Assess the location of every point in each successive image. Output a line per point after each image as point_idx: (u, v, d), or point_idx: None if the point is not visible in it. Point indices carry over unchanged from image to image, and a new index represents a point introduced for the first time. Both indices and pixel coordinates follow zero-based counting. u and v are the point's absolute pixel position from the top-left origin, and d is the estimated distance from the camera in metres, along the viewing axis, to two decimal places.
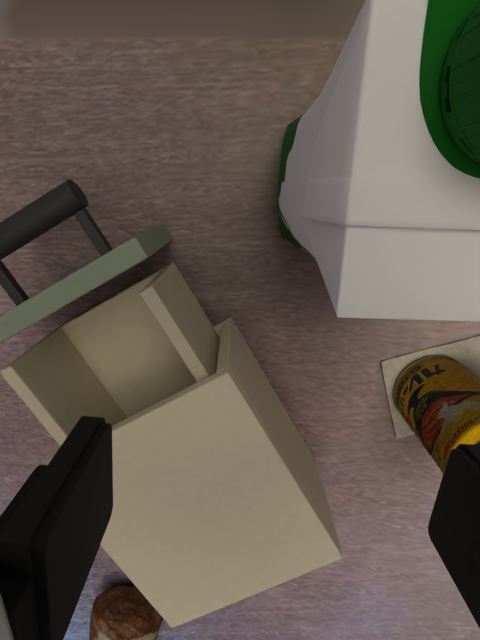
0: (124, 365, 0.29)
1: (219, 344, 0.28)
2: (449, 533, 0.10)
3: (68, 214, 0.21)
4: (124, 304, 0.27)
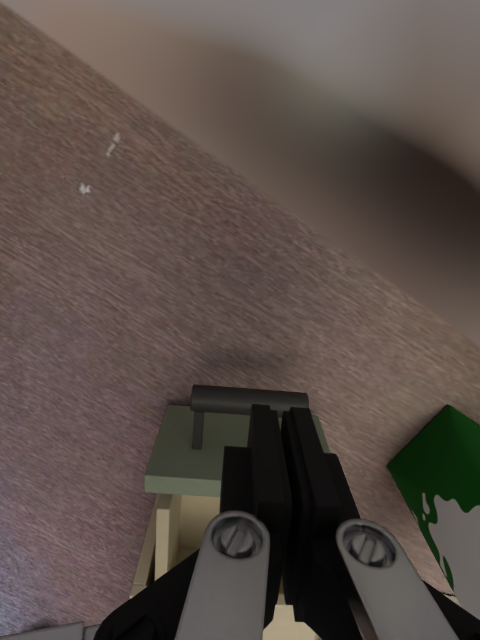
0: None
1: None
2: None
3: None
4: None
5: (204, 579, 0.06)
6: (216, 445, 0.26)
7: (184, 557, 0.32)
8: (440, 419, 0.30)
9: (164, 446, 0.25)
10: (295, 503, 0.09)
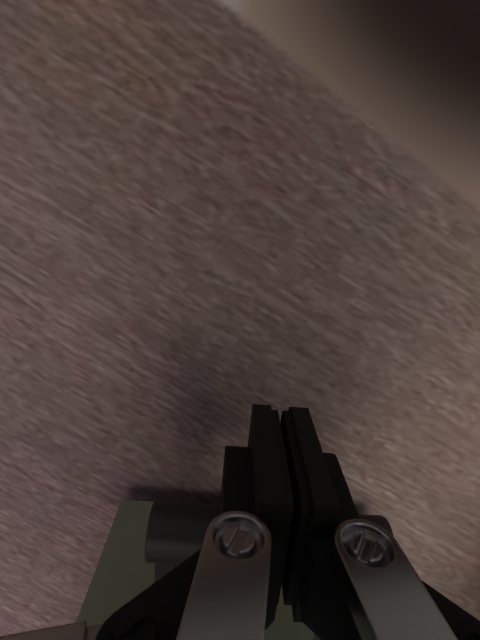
0: None
1: None
2: None
3: None
4: None
5: (206, 579, 0.06)
6: None
7: None
8: None
9: (99, 618, 0.12)
10: (294, 503, 0.09)
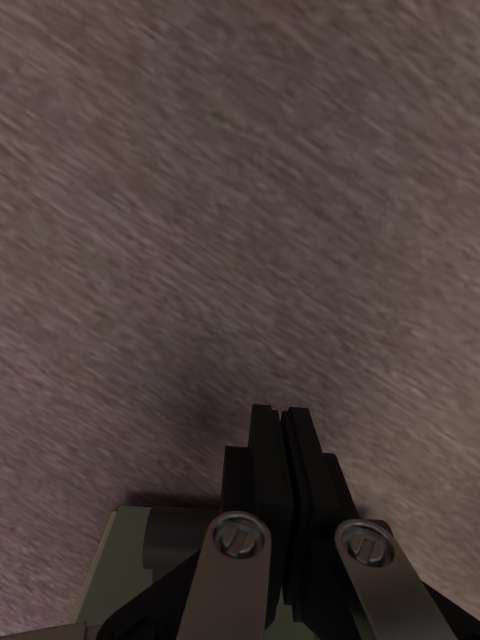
0: None
1: None
2: None
3: None
4: None
5: (206, 579, 0.06)
6: None
7: None
8: None
9: None
10: (294, 503, 0.09)
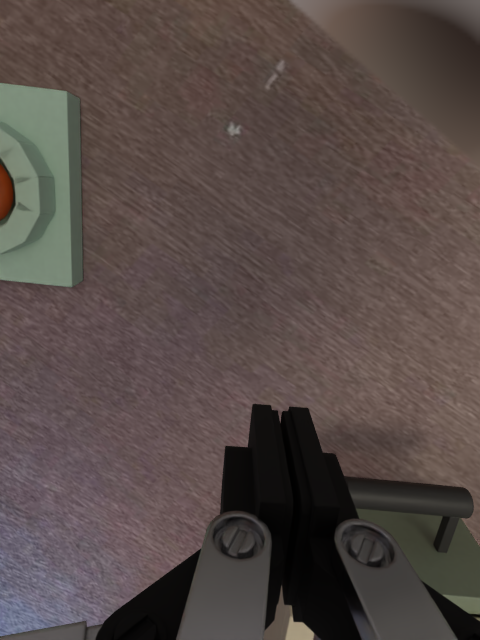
0: None
1: None
2: None
3: None
4: None
5: (206, 579, 0.06)
6: None
7: None
8: None
9: None
10: (294, 503, 0.09)
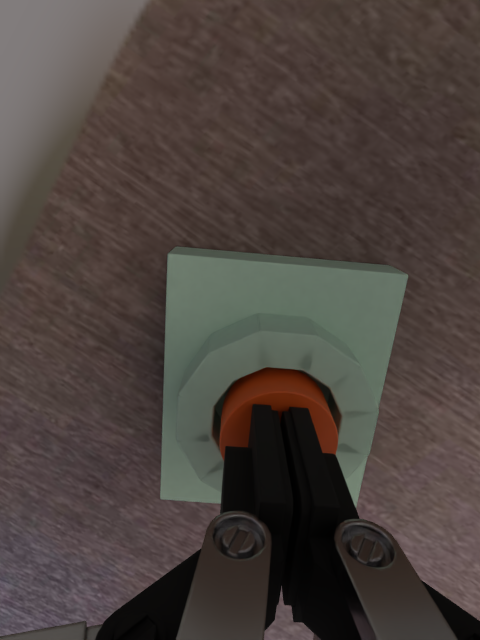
0: None
1: None
2: None
3: None
4: None
5: (205, 579, 0.06)
6: None
7: None
8: None
9: None
10: (294, 503, 0.09)
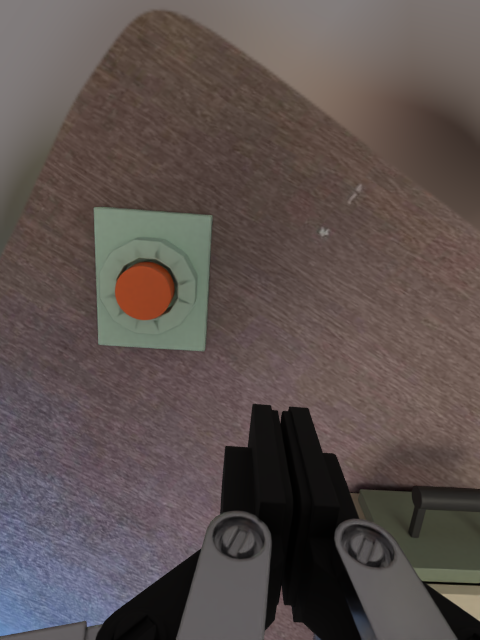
0: None
1: None
2: None
3: None
4: None
5: (206, 579, 0.06)
6: (427, 532, 0.31)
7: None
8: None
9: None
10: (294, 503, 0.09)
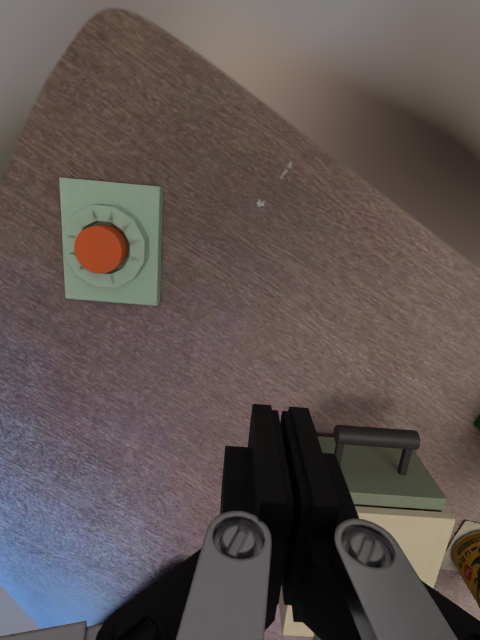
0: None
1: None
2: None
3: (404, 448, 0.34)
4: None
5: (205, 579, 0.06)
6: (348, 467, 0.36)
7: None
8: None
9: None
10: (294, 503, 0.09)
